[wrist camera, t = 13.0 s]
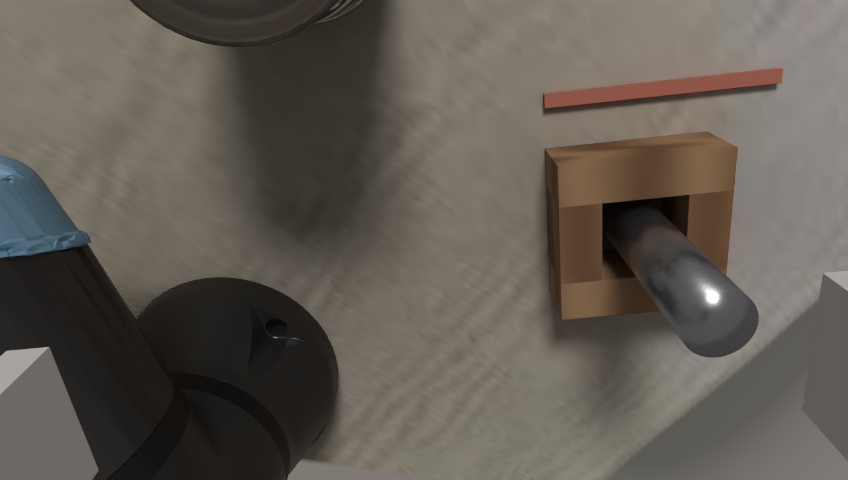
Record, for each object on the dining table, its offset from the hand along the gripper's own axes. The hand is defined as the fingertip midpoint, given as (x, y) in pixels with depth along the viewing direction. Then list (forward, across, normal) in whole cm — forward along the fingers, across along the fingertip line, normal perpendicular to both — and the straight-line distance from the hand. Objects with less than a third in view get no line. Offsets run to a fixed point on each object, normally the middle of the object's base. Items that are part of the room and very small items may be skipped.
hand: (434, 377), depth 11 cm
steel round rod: (+29, +12, -9) cm, 32 cm away
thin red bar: (+29, +14, -1) cm, 32 cm away
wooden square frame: (+29, +12, -9) cm, 32 cm away
